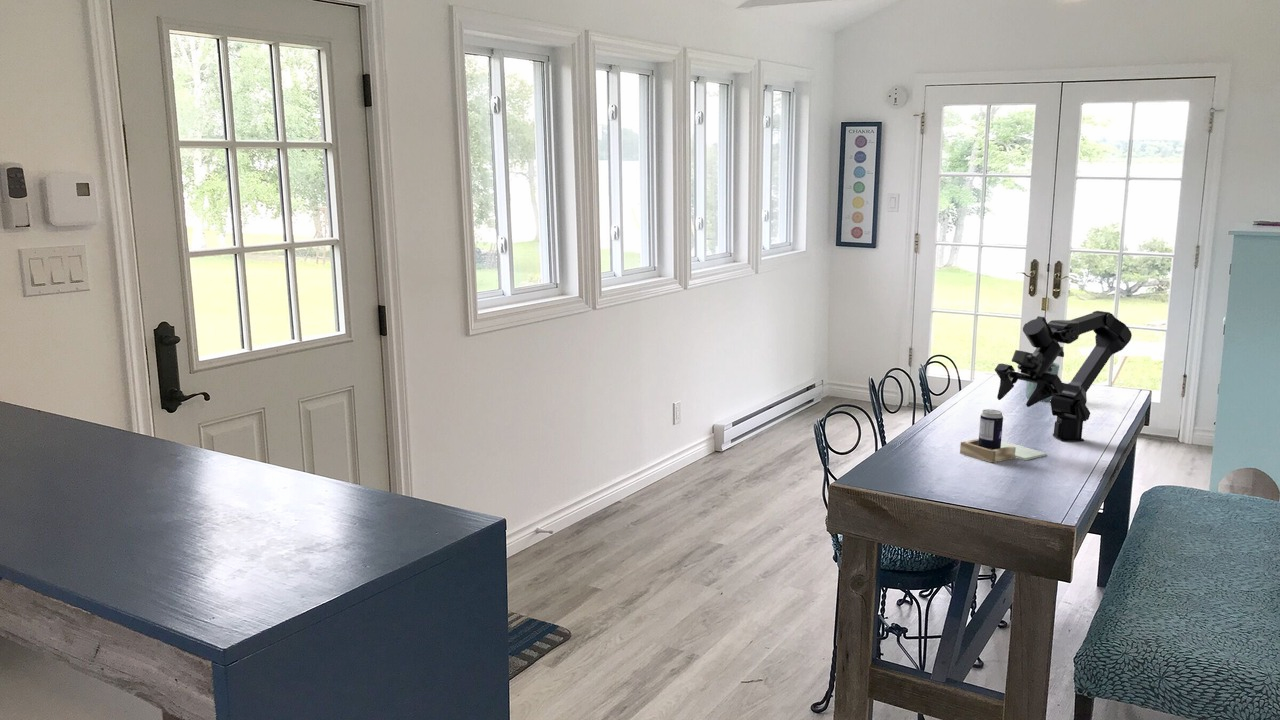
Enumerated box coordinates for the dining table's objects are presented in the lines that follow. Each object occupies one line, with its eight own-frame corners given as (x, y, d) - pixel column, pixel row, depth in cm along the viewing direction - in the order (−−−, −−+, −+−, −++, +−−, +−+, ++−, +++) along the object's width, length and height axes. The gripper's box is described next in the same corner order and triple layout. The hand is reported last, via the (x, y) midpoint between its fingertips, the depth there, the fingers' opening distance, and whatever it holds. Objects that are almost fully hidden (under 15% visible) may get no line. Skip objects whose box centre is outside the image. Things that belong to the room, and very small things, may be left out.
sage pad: (997, 441, 276) (997, 439, 276) (1046, 455, 262) (1046, 453, 262) (975, 445, 271) (975, 443, 271) (1024, 460, 258) (1025, 458, 258)
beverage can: (1001, 458, 259) (1005, 414, 257) (978, 457, 260) (982, 413, 258) (998, 453, 264) (1001, 409, 262) (976, 451, 265) (979, 408, 263)
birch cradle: (982, 448, 268) (983, 437, 268) (1014, 457, 260) (1015, 446, 259) (959, 452, 264) (960, 442, 263) (991, 462, 255) (992, 451, 254)
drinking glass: (1032, 393, 337) (1035, 359, 335) (1061, 398, 330) (1064, 363, 328) (1018, 397, 330) (1021, 363, 328) (1047, 403, 323) (1051, 367, 321)
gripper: (1001, 334, 271) (971, 377, 267) (1061, 345, 255) (1030, 390, 252) (1018, 360, 277) (988, 402, 273) (1077, 371, 261) (1047, 416, 257)
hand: (1012, 402), depth 264 cm, fingers open, 9 cm apart
